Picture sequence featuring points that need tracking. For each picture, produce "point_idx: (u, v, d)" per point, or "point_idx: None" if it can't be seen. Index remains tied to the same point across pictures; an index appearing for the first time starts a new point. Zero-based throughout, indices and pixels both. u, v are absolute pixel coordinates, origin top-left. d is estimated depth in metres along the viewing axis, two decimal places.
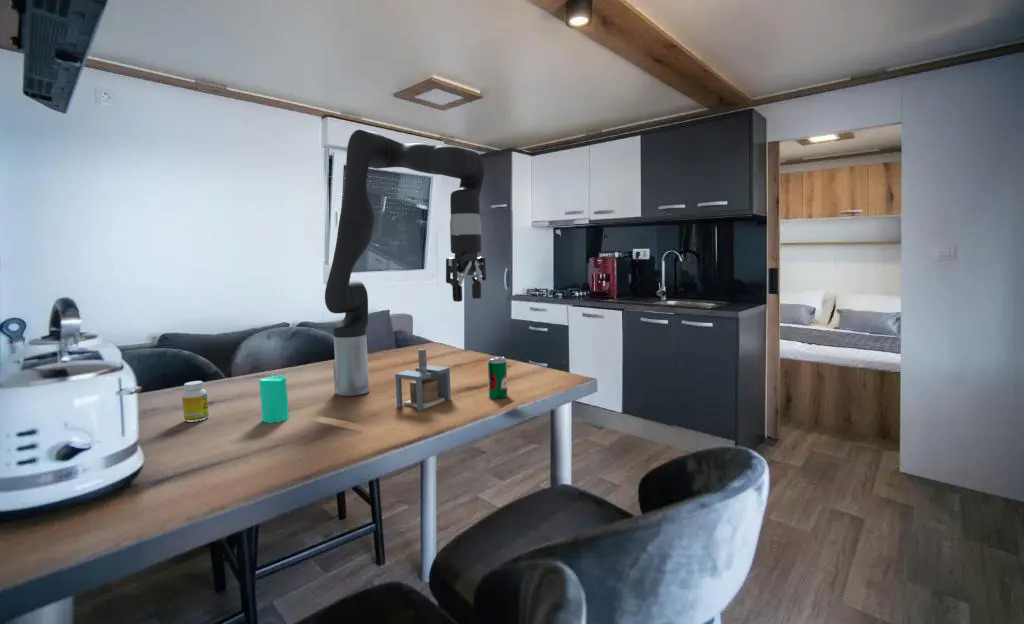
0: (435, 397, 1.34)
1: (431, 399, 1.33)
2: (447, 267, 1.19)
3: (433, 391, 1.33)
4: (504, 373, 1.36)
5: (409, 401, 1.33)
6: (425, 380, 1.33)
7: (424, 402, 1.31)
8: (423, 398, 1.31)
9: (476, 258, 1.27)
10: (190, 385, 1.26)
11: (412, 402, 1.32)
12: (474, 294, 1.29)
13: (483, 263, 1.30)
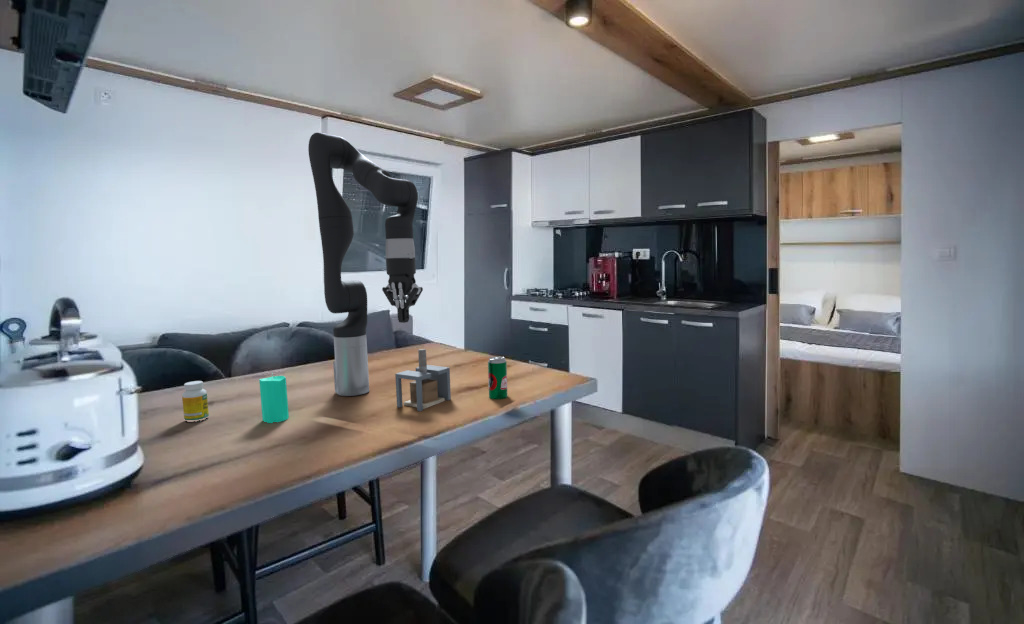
0: (435, 397, 1.34)
1: (431, 399, 1.33)
2: (414, 296, 1.31)
3: (433, 391, 1.33)
4: (504, 373, 1.36)
5: (409, 401, 1.33)
6: (425, 380, 1.33)
7: (424, 402, 1.31)
8: (423, 398, 1.31)
9: None
10: (190, 385, 1.26)
11: (412, 402, 1.32)
12: None
13: None
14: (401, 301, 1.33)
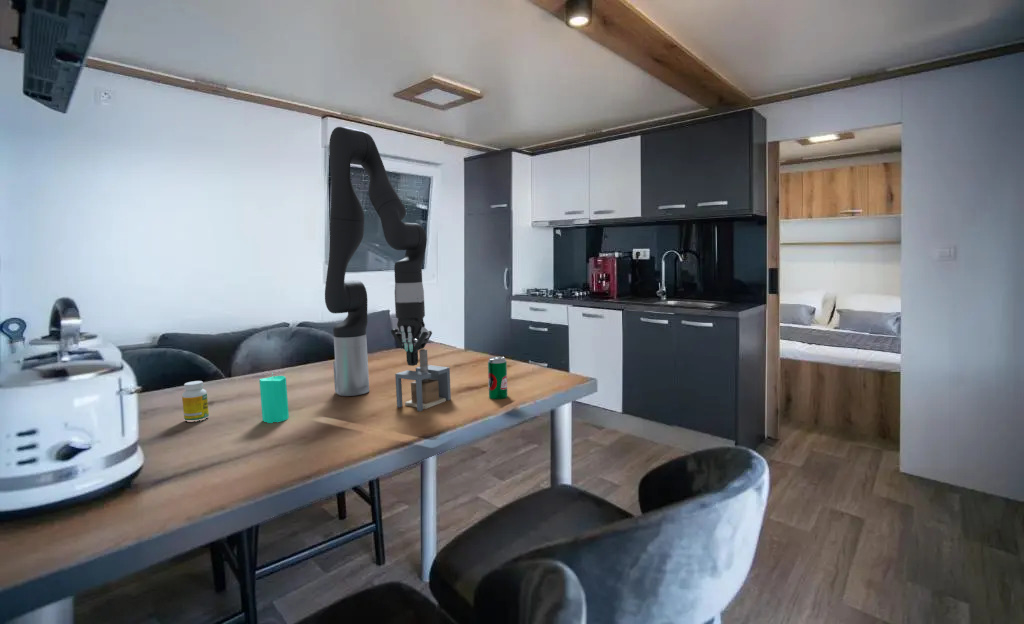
0: (436, 397, 1.34)
1: (432, 399, 1.33)
2: (423, 340, 1.31)
3: (434, 391, 1.33)
4: (504, 373, 1.36)
5: (410, 401, 1.33)
6: (426, 380, 1.33)
7: (425, 402, 1.31)
8: (424, 398, 1.31)
9: None
10: (190, 385, 1.26)
11: (413, 402, 1.32)
12: None
13: None
14: (410, 344, 1.33)
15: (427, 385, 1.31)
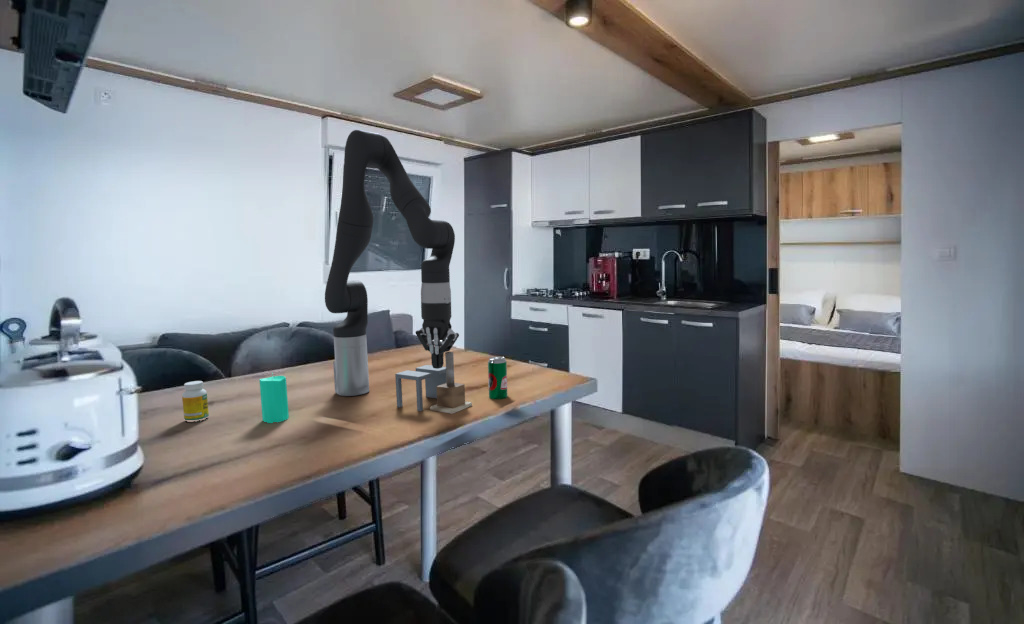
0: (462, 402, 1.29)
1: (459, 404, 1.28)
2: (450, 342, 1.26)
3: (461, 395, 1.29)
4: (504, 373, 1.36)
5: (436, 406, 1.28)
6: (452, 384, 1.28)
7: (452, 407, 1.26)
8: (451, 403, 1.26)
9: None
10: (190, 385, 1.26)
11: (439, 406, 1.28)
12: None
13: None
14: (436, 347, 1.28)
15: (454, 389, 1.26)
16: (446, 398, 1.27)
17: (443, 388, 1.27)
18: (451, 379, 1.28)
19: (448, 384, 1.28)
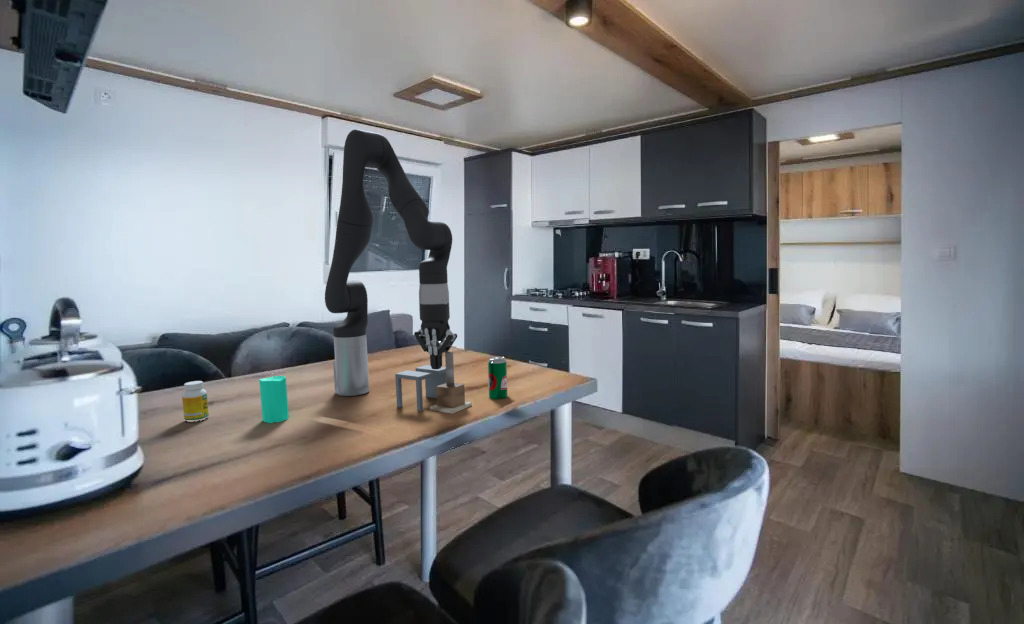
0: (462, 402, 1.29)
1: (458, 404, 1.28)
2: (448, 343, 1.27)
3: (461, 395, 1.29)
4: (504, 373, 1.36)
5: (435, 406, 1.28)
6: (452, 384, 1.28)
7: (451, 407, 1.26)
8: (450, 403, 1.26)
9: None
10: (190, 385, 1.26)
11: (438, 406, 1.28)
12: None
13: None
14: (434, 348, 1.29)
15: (453, 389, 1.26)
16: (446, 398, 1.27)
17: (443, 388, 1.27)
18: (451, 379, 1.28)
19: (448, 384, 1.28)
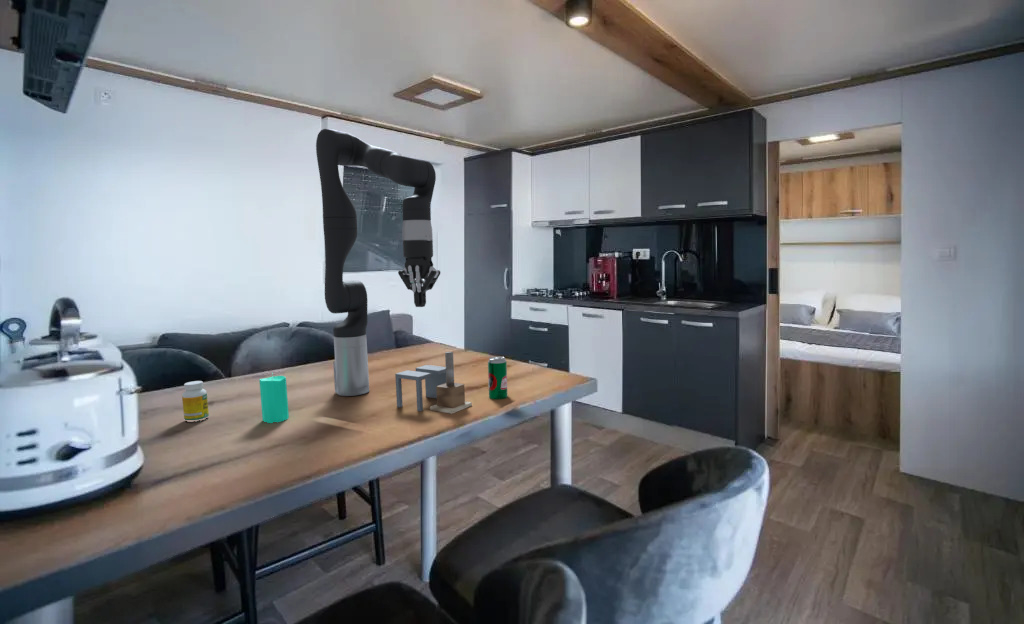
0: (462, 402, 1.29)
1: (458, 404, 1.28)
2: (432, 279, 1.28)
3: (461, 395, 1.29)
4: (504, 373, 1.36)
5: (435, 406, 1.28)
6: (452, 384, 1.28)
7: (451, 407, 1.26)
8: (450, 403, 1.26)
9: None
10: (190, 385, 1.26)
11: (438, 406, 1.28)
12: None
13: None
14: (418, 285, 1.30)
15: (453, 389, 1.26)
16: (446, 398, 1.27)
17: (443, 388, 1.27)
18: (451, 379, 1.28)
19: (448, 384, 1.28)
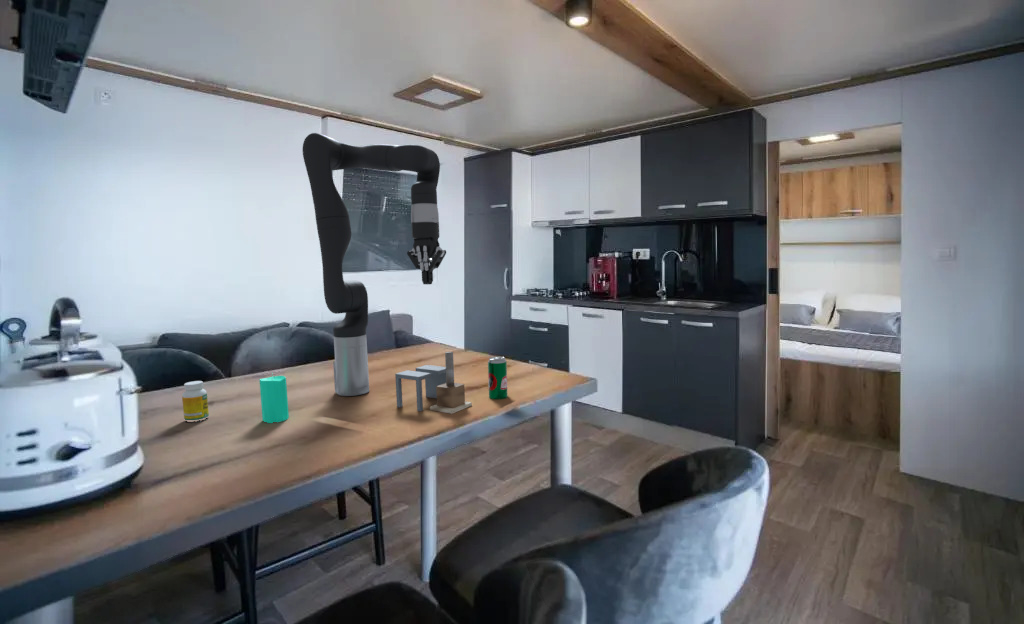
0: (462, 402, 1.29)
1: (458, 404, 1.28)
2: (438, 258, 1.39)
3: (461, 395, 1.29)
4: (504, 373, 1.36)
5: (435, 406, 1.28)
6: (452, 384, 1.28)
7: (451, 407, 1.26)
8: (450, 403, 1.26)
9: None
10: (190, 385, 1.26)
11: (438, 406, 1.28)
12: None
13: None
14: (425, 264, 1.41)
15: (453, 389, 1.26)
16: (446, 398, 1.27)
17: (443, 388, 1.27)
18: (451, 379, 1.28)
19: (448, 384, 1.28)
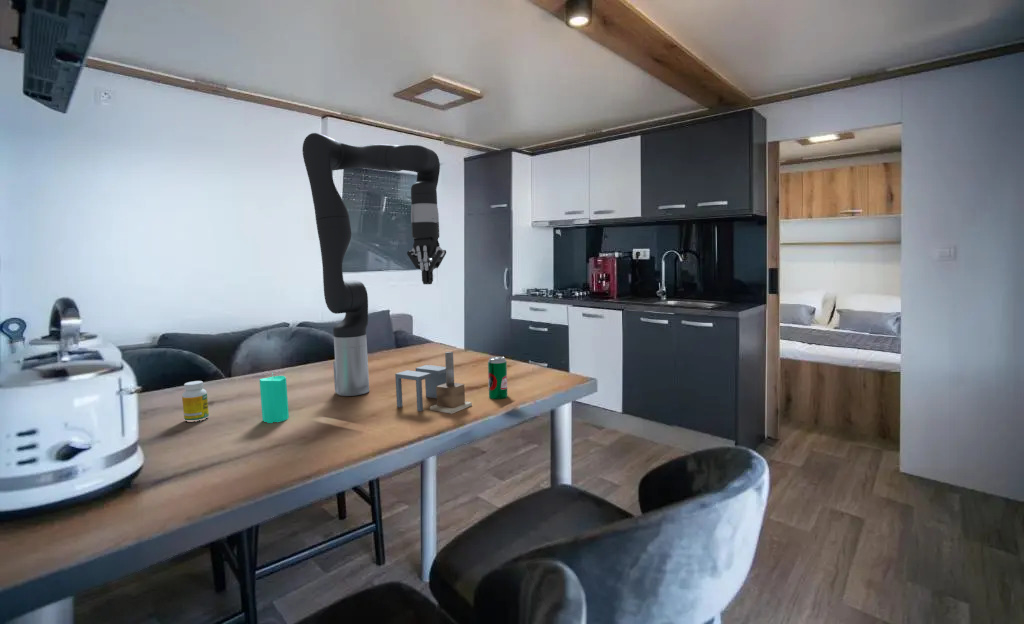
0: (462, 402, 1.29)
1: (458, 404, 1.28)
2: (438, 258, 1.39)
3: (461, 395, 1.29)
4: (504, 373, 1.36)
5: (435, 406, 1.28)
6: (452, 384, 1.28)
7: (451, 407, 1.26)
8: (450, 403, 1.26)
9: None
10: (190, 385, 1.26)
11: (438, 406, 1.28)
12: None
13: None
14: (425, 263, 1.41)
15: (453, 389, 1.26)
16: (446, 398, 1.27)
17: (443, 388, 1.27)
18: (451, 379, 1.28)
19: (448, 384, 1.28)
